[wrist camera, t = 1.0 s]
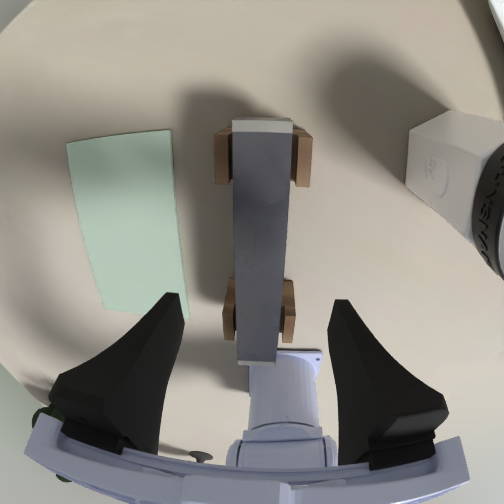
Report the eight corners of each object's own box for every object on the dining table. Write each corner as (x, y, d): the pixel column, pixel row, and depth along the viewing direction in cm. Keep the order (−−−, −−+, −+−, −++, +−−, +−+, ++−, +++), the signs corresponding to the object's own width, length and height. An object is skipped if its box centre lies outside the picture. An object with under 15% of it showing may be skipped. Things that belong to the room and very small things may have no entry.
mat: (190, 316, 29) (189, 319, 29) (106, 307, 30) (104, 309, 29) (171, 129, 20) (169, 130, 20) (68, 142, 21) (65, 143, 20)
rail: (275, 340, 25) (275, 366, 22) (241, 338, 25) (237, 364, 23) (289, 118, 16) (293, 121, 14) (238, 116, 16) (232, 120, 14)
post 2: (290, 306, 28) (291, 343, 23) (230, 304, 28) (224, 339, 24) (293, 281, 26) (295, 316, 22) (229, 278, 26) (222, 313, 22)
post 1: (302, 169, 21) (309, 187, 17) (226, 166, 21) (215, 184, 17) (304, 129, 20) (312, 137, 16) (226, 127, 20) (214, 135, 16)
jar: (406, 102, 18) (513, 122, 7) (483, 118, 17) (586, 155, 7) (398, 210, 22) (473, 300, 12) (471, 213, 21) (551, 287, 11)
